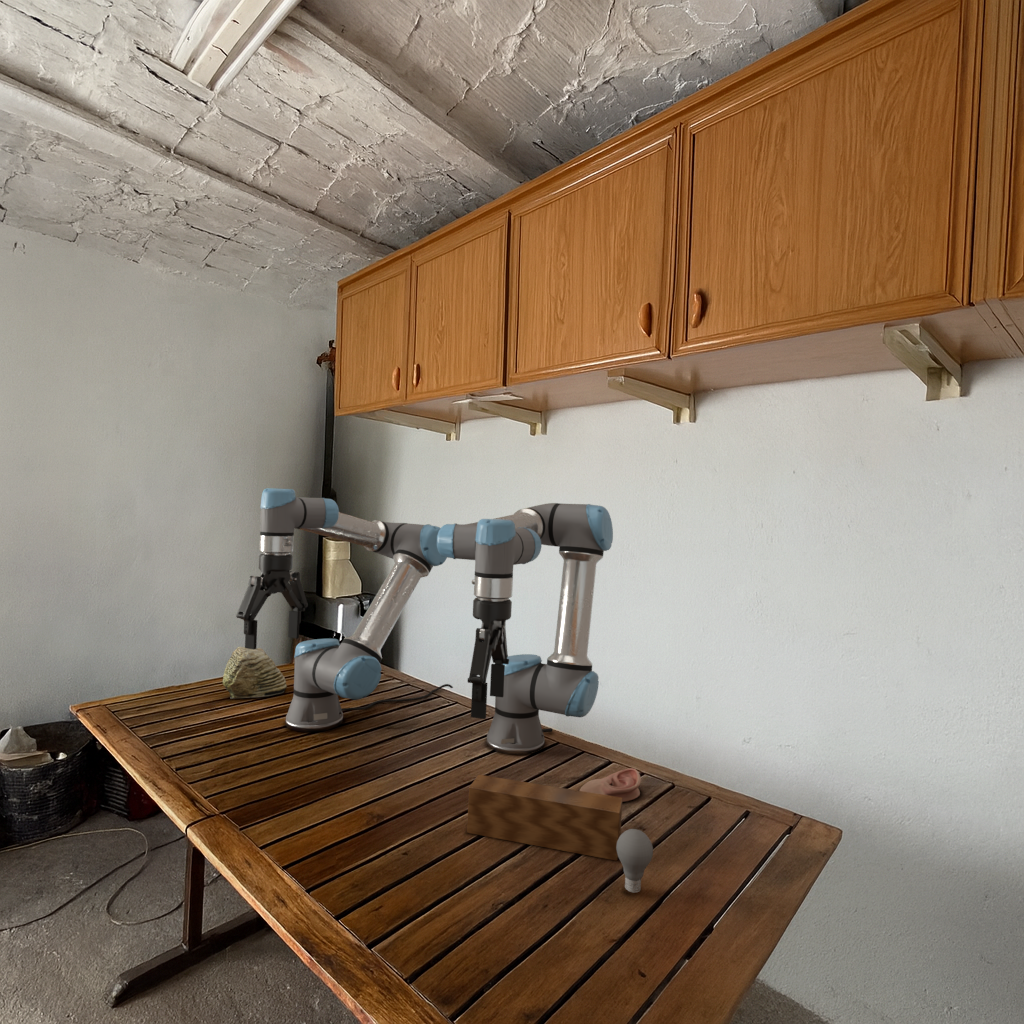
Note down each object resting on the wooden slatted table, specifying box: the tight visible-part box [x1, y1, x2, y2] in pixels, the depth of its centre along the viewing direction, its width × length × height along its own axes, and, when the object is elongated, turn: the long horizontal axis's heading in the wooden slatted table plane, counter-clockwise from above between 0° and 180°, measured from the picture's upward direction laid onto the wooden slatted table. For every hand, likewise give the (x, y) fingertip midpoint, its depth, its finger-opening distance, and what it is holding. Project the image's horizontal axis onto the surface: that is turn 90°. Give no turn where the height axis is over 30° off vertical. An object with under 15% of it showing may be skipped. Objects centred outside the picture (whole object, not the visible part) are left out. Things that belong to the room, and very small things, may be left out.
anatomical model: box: [579, 767, 642, 803], centre depth 142 cm, size 13×4×12 cm
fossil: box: [222, 646, 288, 699], centre depth 198 cm, size 9×18×15 cm, turn 132°
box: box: [466, 774, 623, 862], centre depth 121 cm, size 29×6×9 cm, turn 75°
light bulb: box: [616, 828, 654, 894], centre depth 106 cm, size 6×6×10 cm
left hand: (272, 643), depth 150 cm, fingers open, 13 cm apart
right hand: (487, 706), depth 124 cm, fingers open, 13 cm apart
